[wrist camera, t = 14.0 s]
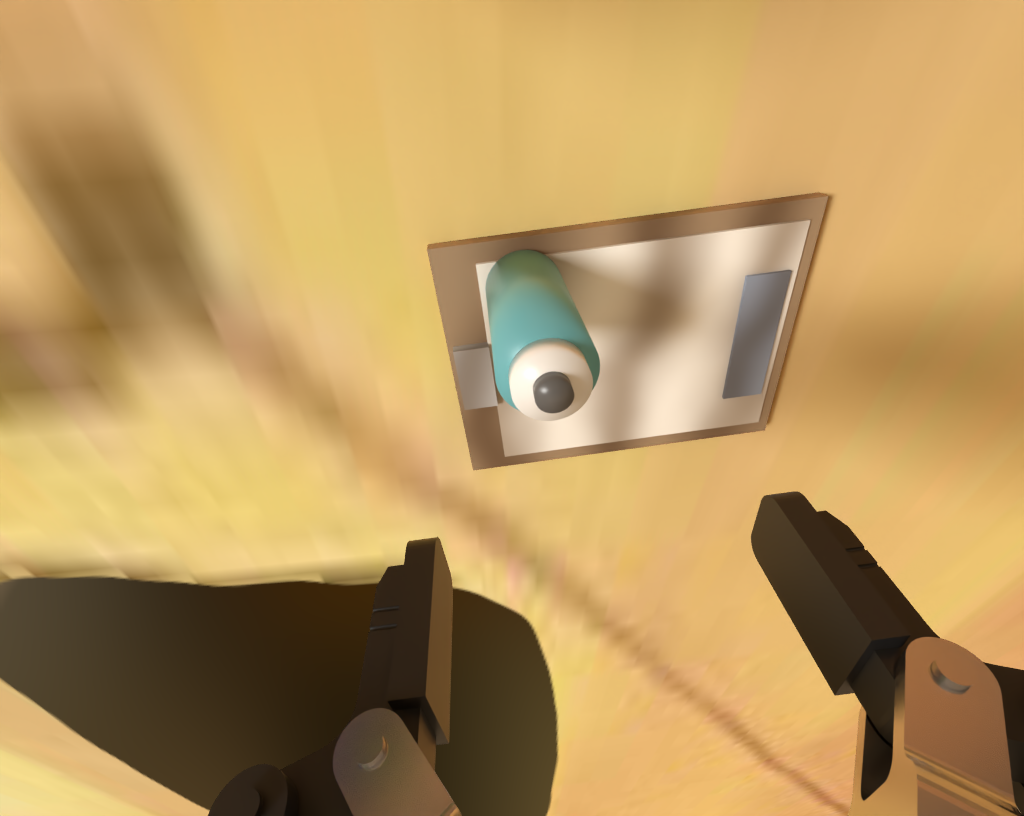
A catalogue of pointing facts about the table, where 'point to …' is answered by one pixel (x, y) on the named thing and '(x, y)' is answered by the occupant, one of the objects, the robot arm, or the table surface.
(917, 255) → the table surface
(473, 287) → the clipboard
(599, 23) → the table surface
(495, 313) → the bottle
